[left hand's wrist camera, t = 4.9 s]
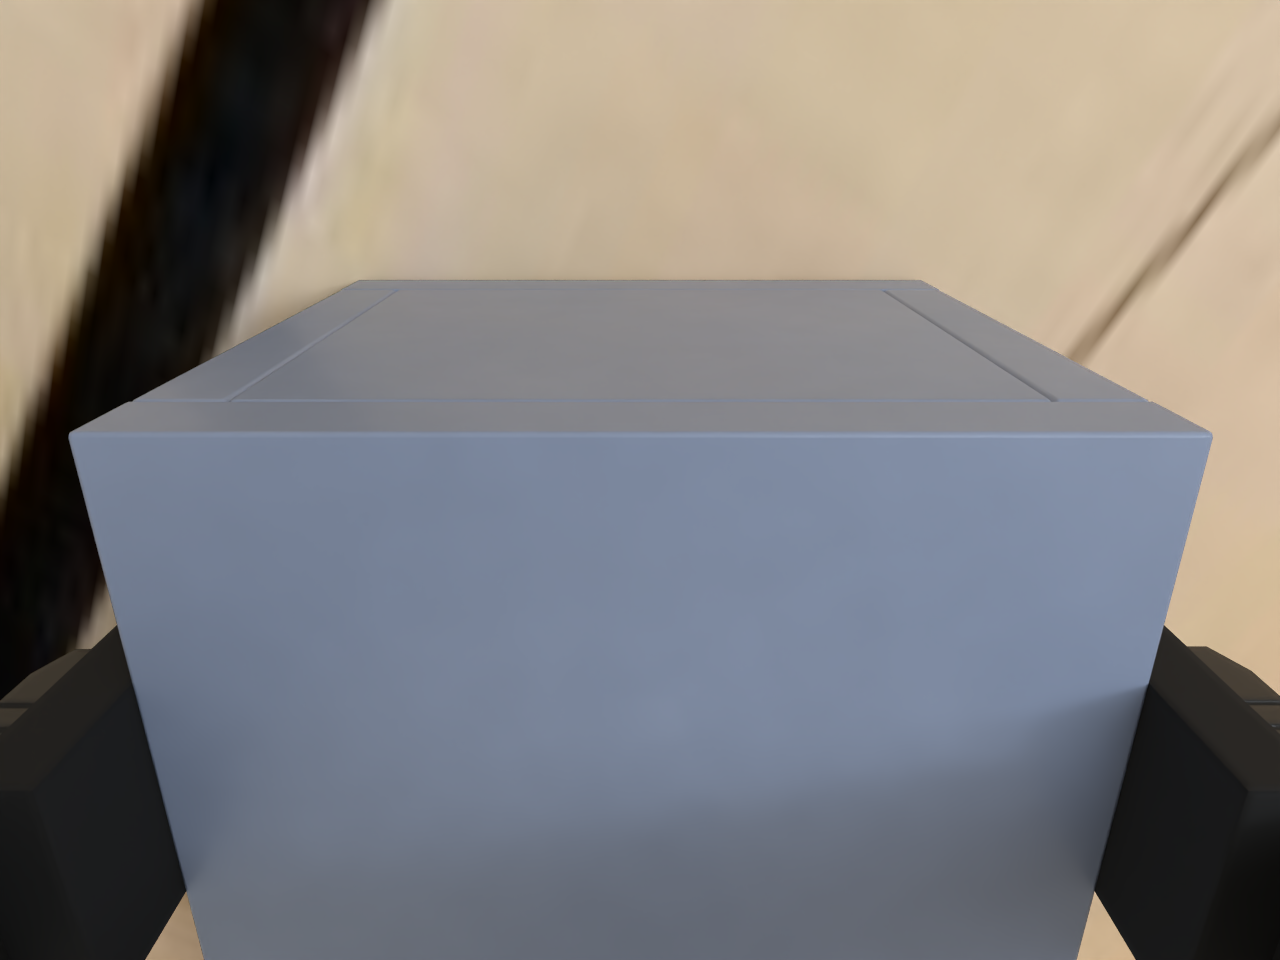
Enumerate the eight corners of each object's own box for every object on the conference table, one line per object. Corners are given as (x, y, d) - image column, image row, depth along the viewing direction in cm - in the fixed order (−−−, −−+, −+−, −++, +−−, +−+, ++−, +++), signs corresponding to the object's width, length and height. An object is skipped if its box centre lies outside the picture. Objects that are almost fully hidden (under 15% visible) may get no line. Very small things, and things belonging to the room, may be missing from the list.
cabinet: (824, 1098, 23) (916, 1578, 16) (455, 1098, 23) (363, 1580, 16) (922, 279, 15) (1217, 432, 7) (356, 280, 15) (63, 432, 7)
